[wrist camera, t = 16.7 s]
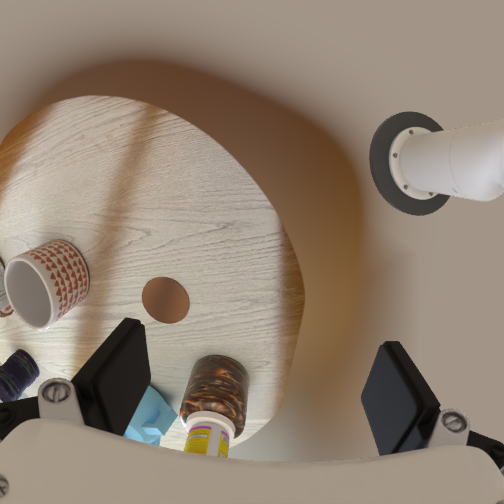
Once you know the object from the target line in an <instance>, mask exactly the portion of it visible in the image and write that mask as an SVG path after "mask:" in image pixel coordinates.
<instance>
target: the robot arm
mask: <svg viewBox="0 0 504 504" xmlns="http://www.w3.org/2000/svg"><path fill="white" fill-rule="evenodd" d="M409 132H410V133H409ZM393 154H394V157H393ZM389 167H390V172H391V175H392V178H393V179H394V181H395V183H396V185H397V186H398V187H399V189H400V190H401V191H402V192H404V193H405V194H406V195H408V196H409V197H412V198H415V199H420V200H426V199H430V198H432V197H434V196H436V195H437V194H438V193H440V194H445V195H451V196H457V197H462V198H468V199H472V200H477V201H490V200H492V199H495V198H497V197H498V196H500V195H501V194H502V193H503V192H504V118H503V119H500V120H497V121H493V122H489V123H485V124H479V125H475V126H468V127H461V128H455V129H449V130H443V131H438V132H431V131H429V130H427V129H425V128H421V127H411V128H407V129H405V130H403V131H401V132H400V133H398V135H397V136H396V137H395V138H394V140H393V142H392V144H391V147H390V150H389ZM150 380H151V373H150V367H149V359H148V352H147V344H146V335H145V326H144V325H143V324H141V322H140V320H137V319H132V318H125V319H124V320H123V321H122V322H121V323H120V324H119V325H118V326H117V327H116V329H115V330H114V331H113V332H112V333H111V334H110V335H109V337H108V338H107V339H106V340H105V341H104V342H103V343H102V345H101V346H100V347H99V348H98V349H97V350H96V351H95V353H94V354H93V355H92V356H91V357H90V359H89V360H88V361H87V362H86V363H85V364H84V366H83V367H82V368H81V369H80V370H79V372H78V373H77V374H76V375H75V376H74V378H73V379H72V380H71V381H68V380H66V379H63V378H52V379H49V380H47V381H45V382H44V383H43V384H41V385H40V387H39V389H38V396H36V397H31V398H25V399H20V400H15V401H9V402H3V403H0V504H504V444H503V443H501V442H499V441H497V440H494V439H491V438H488V437H486V436H483V435H481V434H478V433H476V432H473V431H470V421H469V419H468V417H467V416H466V415H465V414H464V413H463V412H461V411H459V410H456V409H445V410H443V411H442V412H441V411H440V409H439V407H440V403H439V402H438V400H437V398H436V397H435V395H434V393H433V392H432V390H431V389H430V387H429V386H428V384H427V382H426V381H425V379H424V378H423V376H422V375H421V373H420V372H419V370H418V369H417V367H416V366H415V364H414V363H413V361H412V360H411V358H410V357H409V355H408V354H407V352H406V351H405V349H404V348H403V346H402V345H401V344H400V342H398V341H386V342H384V343H383V345H380V347H379V349H378V352H377V355H376V358H375V360H374V363H373V366H372V369H371V371H370V374H369V377H368V379H367V382H366V384H365V387H364V389H363V392H362V394H361V401H362V404H363V407H364V410H365V413H366V416H367V419H368V421H369V424H370V427H371V430H372V433H373V436H374V439H375V442H376V445H377V448H378V452H379V455H380V456H376V457H368V458H360V459H351V460H338V461H321V462H271V461H254V460H242V459H231V458H223V457H215V456H208V455H202V454H195V453H190V452H184V451H179V450H174V449H169V448H165V447H161V446H156V445H152V444H148V443H144V442H140V441H136V440H133V439H129V438H126V437H123V435H124V433H125V431H126V429H127V427H128V425H129V423H130V421H131V419H132V417H133V415H134V413H135V411H136V409H137V407H138V405H139V403H140V401H141V400H142V398H143V396H144V394H145V392H146V390H147V388H148V386H149V384H150Z"/></svg>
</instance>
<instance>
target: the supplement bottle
mask: <svg viewBox="0 0 504 504" xmlns="http://www.w3.org/2000/svg"><path fill="white" fill-rule="evenodd" d="M228 448H229V434H228V432H227V431H226V430H225V429H224V428H223V427H221V426H219V425H216V424H213V423H207V422H203V423H197V424H195V425H193V426H192V427H191V428H190V430H189V432H188V436H187V440H186V444H185V448H184V452H190V453H195V454H202V455H208V456H215V457H223V458H227V457H228Z"/></svg>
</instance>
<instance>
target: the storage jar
mask: <svg viewBox="0 0 504 504" xmlns="http://www.w3.org/2000/svg"><path fill="white" fill-rule="evenodd" d="M38 376H39V369H38V366H37V364H36V363H35V361H34V360H33V358H32V357H31V356H30V355H29V354H28V353H27V352H25V351H24V350H21V349H19V350H17V351H16V352H15V353H14V354H12V355H11V356H10V357H9V358H8V359H7V361H6V362H5V363H4V364H3V365H2V366H0V399H1V400H2V401H3V402H9V401H15V400H18V398H19V397H20V396H21V394H22V392H23V391H24V390H25V389H26V388H27V387H29V386H30V385H31V384H32V383H33V382H34V381H35V379H36V378H37V377H38Z"/></svg>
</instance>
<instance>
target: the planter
mask: <svg viewBox="0 0 504 504" xmlns="http://www.w3.org/2000/svg"><path fill="white" fill-rule="evenodd" d="M4 284H5V290H6V294H7V297H8V300H9V302H10V304H11V306H12V308H13V310H14V311H15V313H16V314H17V316H18V317H19V318H20V319H21V320H22V321H23V322H24V323H25V324H26V325H28V326H29V327H31V328H33V329H35V330H45V329H47V328H48V327H50V326H51V325H52V324H53V323H54V322H56V321H57V320H58V319H59V318H61V317H62V316H63V315H64V314H65V313H67V312H68V311H69V310H70V309H72V308H73V307H74V306H75V305H77V304H78V303H79V302H80V301H82V300H83V299H84V297H85V296H86V294H87V292H88V288H89V274H88V269H87V266H86V263H85V261H84V259H83V257H82V256H81V254H80V253H79V251H78V250H77V249H76V248H75V247H74V246H73V245H71V244H70V243H68V242H66V241H63V240H54V241H51V242H49V243H46V244H44V245H41V246H39V247H37V248H34V249H32V250H29V251H27V252H25V253H22V254H20V255H18V256H16V257H13V258H12V259H11V260H10V261H9V262H8V263H7V265H6V268H5V273H4Z"/></svg>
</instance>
